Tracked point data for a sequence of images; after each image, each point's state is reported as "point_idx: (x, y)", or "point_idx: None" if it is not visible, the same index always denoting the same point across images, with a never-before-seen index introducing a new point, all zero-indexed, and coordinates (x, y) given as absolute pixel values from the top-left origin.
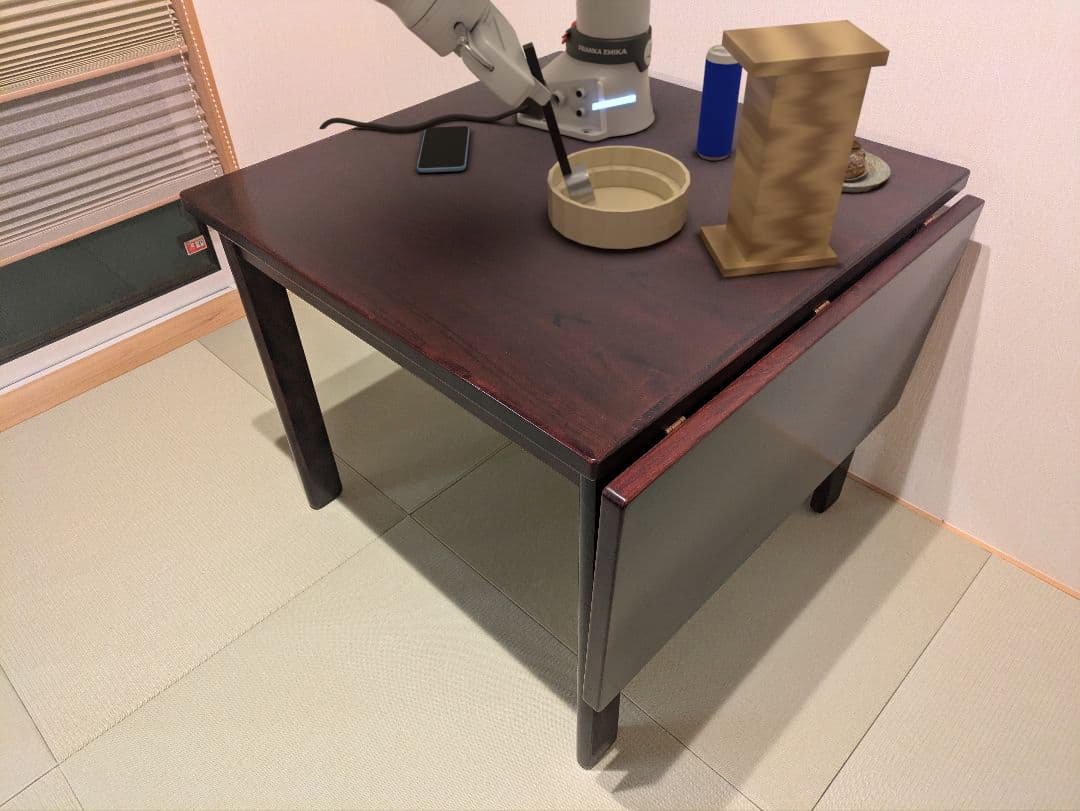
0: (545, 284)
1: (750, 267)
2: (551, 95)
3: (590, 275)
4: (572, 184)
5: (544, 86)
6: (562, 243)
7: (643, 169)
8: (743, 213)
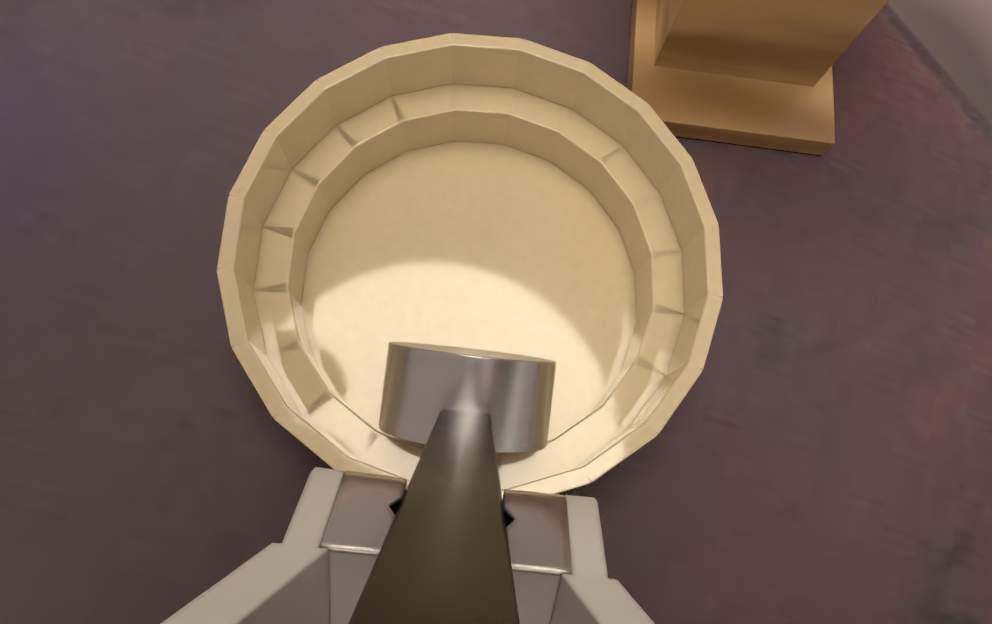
0: (772, 609)
1: (831, 88)
2: (592, 497)
3: (751, 465)
4: (528, 428)
5: (559, 542)
6: None
7: (336, 141)
8: (801, 10)
